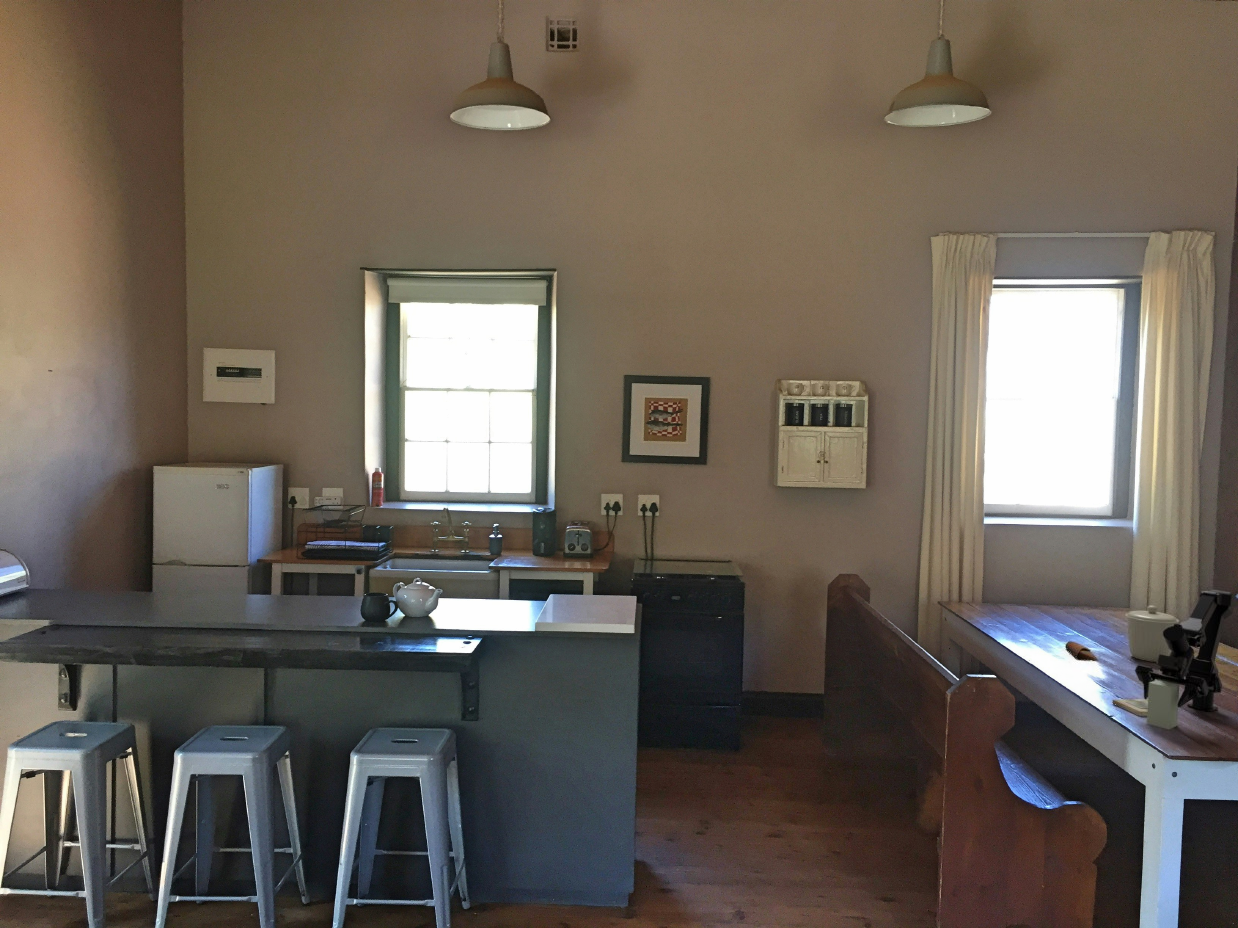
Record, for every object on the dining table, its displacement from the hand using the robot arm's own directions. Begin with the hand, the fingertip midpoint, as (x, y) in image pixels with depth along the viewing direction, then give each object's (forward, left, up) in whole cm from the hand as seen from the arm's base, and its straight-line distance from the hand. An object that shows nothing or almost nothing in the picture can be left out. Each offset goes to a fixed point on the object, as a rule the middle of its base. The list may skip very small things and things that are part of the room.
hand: (1161, 702), depth 266 cm
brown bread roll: (-62, -62, -8) cm, 88 cm away
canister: (-81, -46, -7) cm, 94 cm away
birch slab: (-11, -11, -7) cm, 17 cm away
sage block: (-1, 0, -7) cm, 7 cm away
